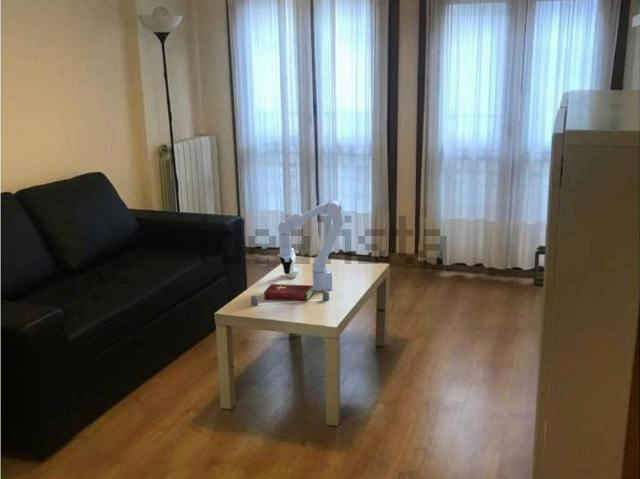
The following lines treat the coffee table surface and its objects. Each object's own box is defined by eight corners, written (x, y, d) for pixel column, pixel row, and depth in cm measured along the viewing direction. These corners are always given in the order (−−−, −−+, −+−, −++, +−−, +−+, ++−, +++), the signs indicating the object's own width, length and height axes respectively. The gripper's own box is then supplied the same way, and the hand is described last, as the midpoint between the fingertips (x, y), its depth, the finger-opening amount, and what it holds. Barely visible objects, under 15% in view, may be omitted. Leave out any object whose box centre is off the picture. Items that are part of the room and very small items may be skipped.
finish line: (328, 298, 306) (328, 290, 305) (329, 300, 303) (329, 292, 302) (251, 303, 302) (250, 295, 301) (251, 306, 299) (251, 297, 298)
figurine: (301, 273, 346) (299, 246, 342) (297, 279, 337) (295, 250, 333) (287, 273, 347) (286, 245, 343) (283, 278, 338) (282, 250, 334)
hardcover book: (307, 301, 302) (307, 293, 301) (264, 299, 307) (263, 291, 306) (313, 293, 314) (313, 285, 313) (271, 291, 319) (271, 283, 318)
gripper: (276, 242, 323) (277, 268, 327) (278, 249, 309) (279, 277, 313) (290, 241, 324) (291, 267, 327) (292, 248, 310) (294, 276, 313)
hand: (286, 272), depth 320 cm, fingers open, 4 cm apart
